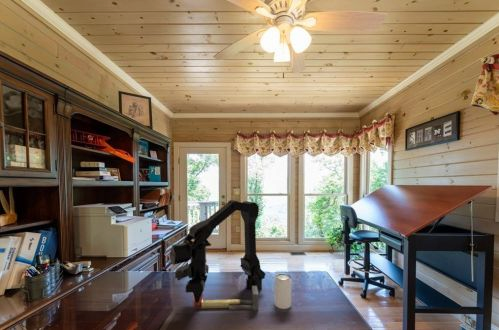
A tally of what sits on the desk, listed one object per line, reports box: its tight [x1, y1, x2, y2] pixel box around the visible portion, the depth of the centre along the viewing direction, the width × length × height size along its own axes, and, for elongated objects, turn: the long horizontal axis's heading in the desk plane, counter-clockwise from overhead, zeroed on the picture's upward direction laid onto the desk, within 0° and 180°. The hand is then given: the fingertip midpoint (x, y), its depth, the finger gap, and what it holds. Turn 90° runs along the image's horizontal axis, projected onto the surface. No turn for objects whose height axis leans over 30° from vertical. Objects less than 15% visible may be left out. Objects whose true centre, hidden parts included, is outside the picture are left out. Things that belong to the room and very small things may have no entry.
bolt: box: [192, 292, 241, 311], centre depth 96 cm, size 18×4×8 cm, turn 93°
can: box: [273, 273, 292, 310], centre depth 98 cm, size 6×6×12 cm
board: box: [228, 286, 259, 312], centre depth 96 cm, size 27×11×7 cm, turn 93°
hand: (198, 299), depth 95 cm, fingers closed on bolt, 3 cm apart
